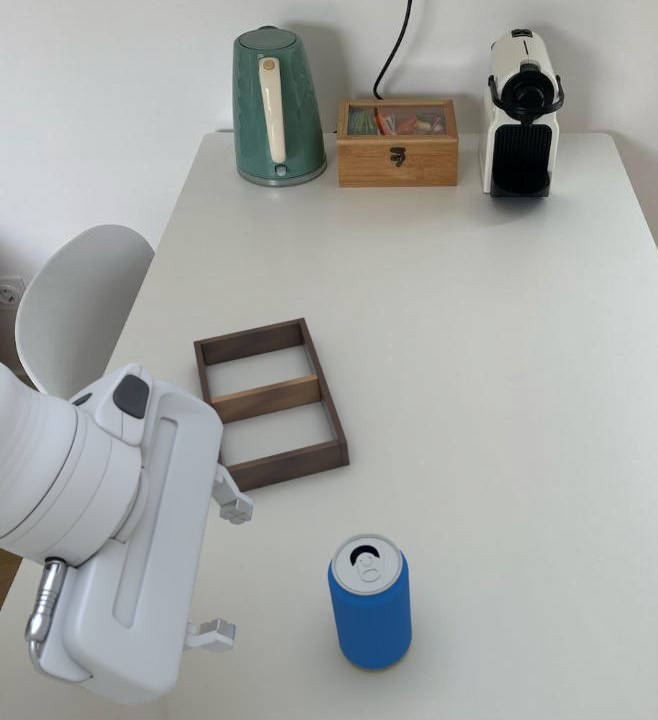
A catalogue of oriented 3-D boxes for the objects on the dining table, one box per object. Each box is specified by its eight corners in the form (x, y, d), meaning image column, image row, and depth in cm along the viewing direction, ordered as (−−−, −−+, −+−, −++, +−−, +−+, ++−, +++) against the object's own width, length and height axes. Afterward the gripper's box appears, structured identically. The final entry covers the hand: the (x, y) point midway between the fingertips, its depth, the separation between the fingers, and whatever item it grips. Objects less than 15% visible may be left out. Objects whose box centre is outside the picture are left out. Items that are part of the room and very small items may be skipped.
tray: (223, 497, 84) (216, 474, 82) (199, 363, 99) (193, 341, 97) (349, 464, 87) (347, 442, 84) (307, 339, 102) (304, 317, 100)
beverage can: (398, 597, 75) (393, 519, 67) (422, 659, 70) (419, 584, 62) (331, 618, 74) (317, 541, 65) (350, 683, 69) (337, 609, 61)
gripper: (51, 653, 40) (251, 722, 48) (140, 342, 53) (285, 439, 62) (-21, 679, 43) (180, 740, 51) (81, 378, 56) (227, 466, 64)
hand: (238, 573), depth 57 cm, fingers open, 8 cm apart
